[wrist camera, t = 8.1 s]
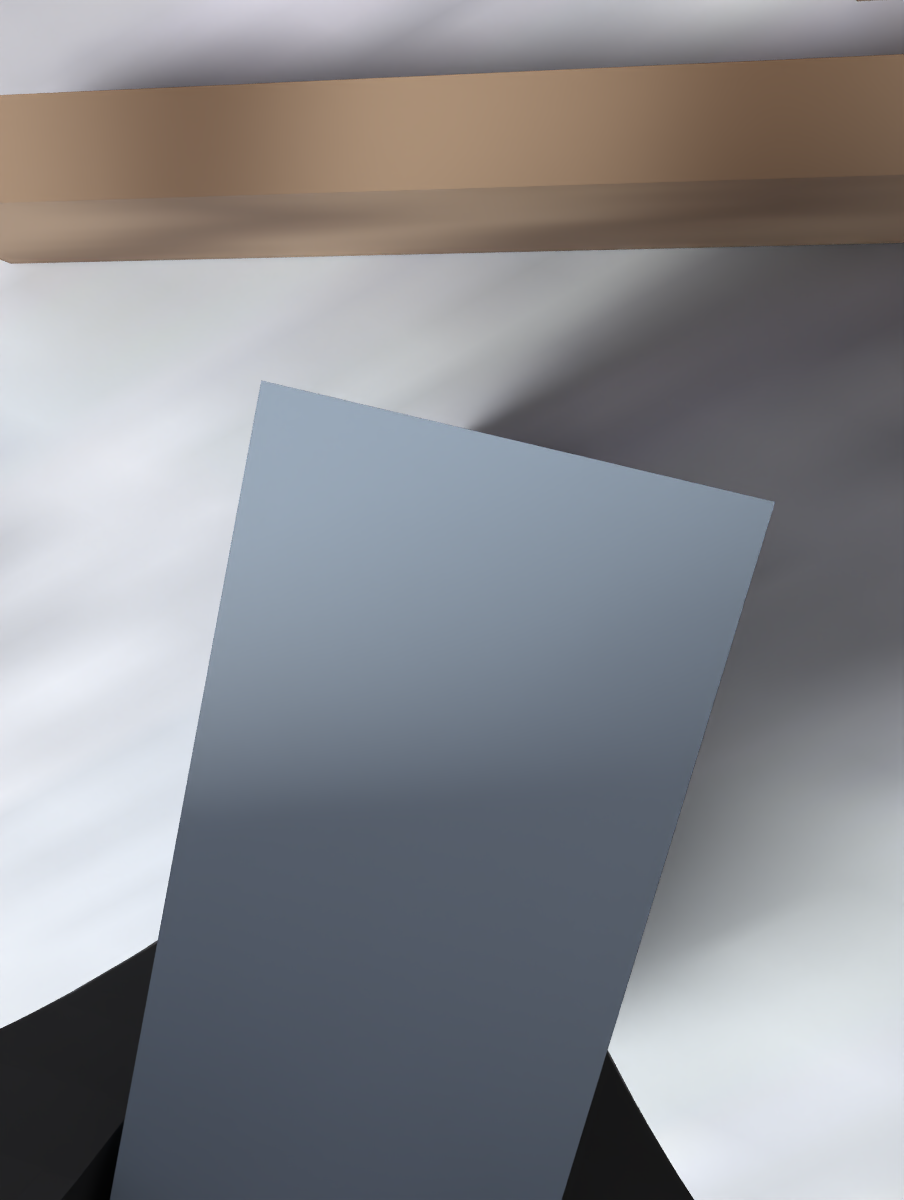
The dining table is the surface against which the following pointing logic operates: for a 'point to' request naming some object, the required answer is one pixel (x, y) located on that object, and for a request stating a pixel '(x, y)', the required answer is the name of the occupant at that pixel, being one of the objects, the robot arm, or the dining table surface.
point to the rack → (460, 163)
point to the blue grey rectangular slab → (423, 808)
